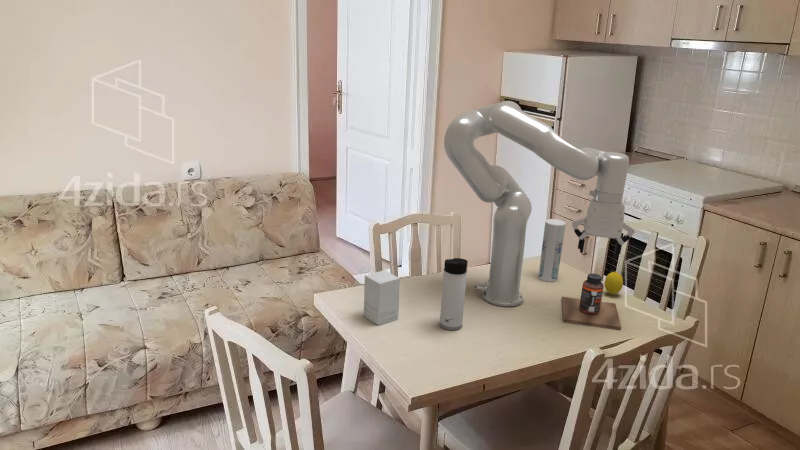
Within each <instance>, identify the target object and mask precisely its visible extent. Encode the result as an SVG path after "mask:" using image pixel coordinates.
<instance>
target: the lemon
mask: <svg viewBox="0 0 800 450" xmlns="http://www.w3.org/2000/svg"><path fill="white" fill-rule="evenodd" d="M623 285H624V278H623V276H622V274H620V273H619V272H617V271H611V272H610V273H608V274H607V275H606V277H605V280H604V288H605V290H606V291H607V292H608V293H609V294H610V295H611V296H613V295H615V294H618V293H620V292H621V290H622V289H623Z"/></svg>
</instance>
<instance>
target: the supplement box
mask: <svg viewBox="0 0 800 450" xmlns="http://www.w3.org/2000/svg"><path fill="white" fill-rule="evenodd" d="M400 286H401V278H400V277H398V276H396V275H394V274H392V273H391V272H389V271H387V270H381V271H377V272H373V273H369V274H365V275H364V287H363V288H364V292H363V317H365V318H366V319H368V320H369V321H370V322H372V323H374V324H375V325H377V326H379V325H384V324H387V323H390V322H394V321H396V320H397V321H398V320H399V307H400V305H399V304H400Z"/></svg>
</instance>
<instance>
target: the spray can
mask: <svg viewBox="0 0 800 450" xmlns="http://www.w3.org/2000/svg"><path fill="white" fill-rule="evenodd" d="M566 225H567V223H566V222H565V221H564V220H561V219H556V218H549V219H546V220H545V222H544V231H543V238H542V245H541V253H540V254H541V255H540V263H539V271H538V279H539V280H541V281H543V282H546V283H555V282H557V281H558V278H559V271H560V264H561V259H562V251H563V243H564V239H565V238H564V236H565V230H566Z"/></svg>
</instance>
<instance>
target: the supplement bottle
mask: <svg viewBox="0 0 800 450" xmlns="http://www.w3.org/2000/svg"><path fill="white" fill-rule="evenodd" d="M602 277H603V276H601V274H598V273H593V272H591V273H588V274H587V278H586V279H585V280H584V281H583V282H582V286H581V287H582V288H581V292H580V293H581V294H580V298H579V299H580V305H579V309H580V310H581V311H582V312H584V313H586V314H597V313H599V311H600V306H601V302H602V300H603V299H602V298H603V294H604V288H605V284H604V283H602V279H603V278H602Z"/></svg>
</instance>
